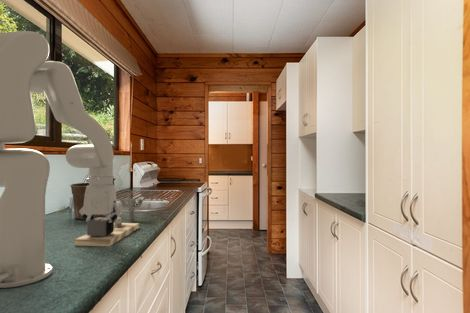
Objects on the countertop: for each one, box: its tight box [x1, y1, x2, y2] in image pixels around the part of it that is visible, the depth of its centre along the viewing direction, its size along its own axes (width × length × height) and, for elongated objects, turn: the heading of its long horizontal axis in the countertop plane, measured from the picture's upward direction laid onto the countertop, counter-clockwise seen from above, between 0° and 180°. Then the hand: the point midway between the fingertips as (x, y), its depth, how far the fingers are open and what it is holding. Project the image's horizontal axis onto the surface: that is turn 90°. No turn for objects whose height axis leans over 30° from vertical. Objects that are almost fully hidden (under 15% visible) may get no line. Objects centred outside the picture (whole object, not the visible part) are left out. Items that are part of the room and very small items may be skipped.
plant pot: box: [69, 182, 104, 220], centre depth 141 cm, size 16×16×16 cm
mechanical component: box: [120, 197, 143, 222], centre depth 133 cm, size 3×10×10 cm, turn 78°
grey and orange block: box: [86, 217, 108, 236], centre depth 102 cm, size 6×6×5 cm
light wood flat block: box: [74, 216, 140, 247], centre depth 108 cm, size 24×12×6 cm, turn 175°
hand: (100, 232), depth 102 cm, fingers closed on grey and orange block, 6 cm apart
